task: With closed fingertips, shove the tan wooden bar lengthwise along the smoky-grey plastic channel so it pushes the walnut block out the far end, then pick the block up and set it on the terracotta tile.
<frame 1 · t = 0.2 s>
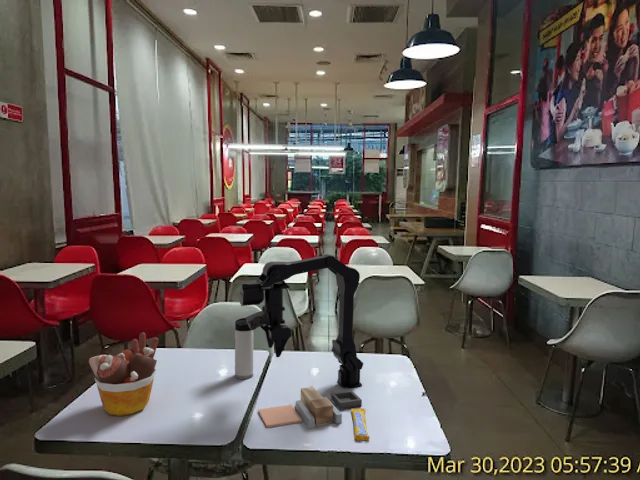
hand: (274, 352, 143), 14 cm above the table, fingers open, 9 cm apart
tile: (279, 416, 130), on the table
candy bar: (360, 427, 125), on the table
block: (321, 420, 128), on the table
tan wooden bar: (311, 408, 136), on the table
travel mug: (244, 376, 159), on the table
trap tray: (346, 402, 139), on the table
channel: (318, 415, 130), on the table
bucket of meat: (127, 407, 134), on the table
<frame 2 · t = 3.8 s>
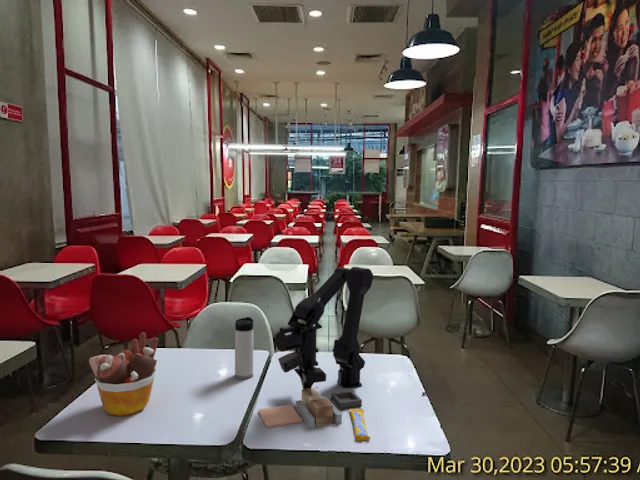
hand: (306, 394, 140), 2 cm above the table, fingers closed
tan wooden bar: (312, 409, 135), on the table, touching gripper
everything else where it was.
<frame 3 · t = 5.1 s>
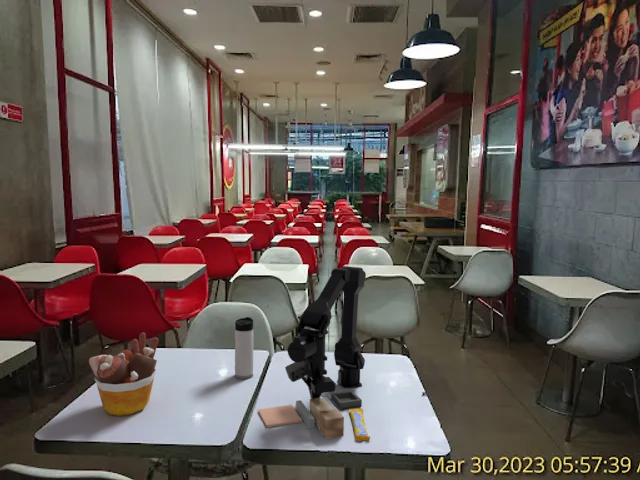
hand: (314, 404, 133), 2 cm above the table, fingers closed
block: (331, 432, 121), on the table, touching tan wooden bar
tan wooden bar: (321, 420, 128), on the table, touching block, gripper
everything else where it was.
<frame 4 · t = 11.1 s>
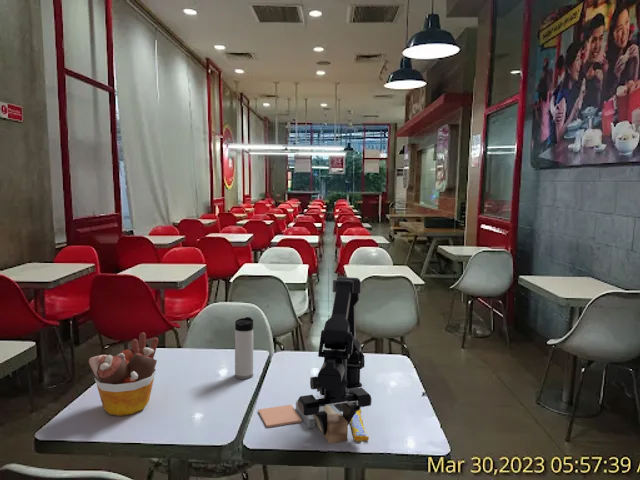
hand: (334, 432, 119), 1 cm above the table, fingers closed on block, 5 cm apart
block: (334, 437, 119), on the table, touching gripper
tan wooden bar: (324, 425, 125), on the table
everything else where it was.
when the fingers open (2 cm above the table, at t = 15.3 s): block stays where it is, resting on tile.
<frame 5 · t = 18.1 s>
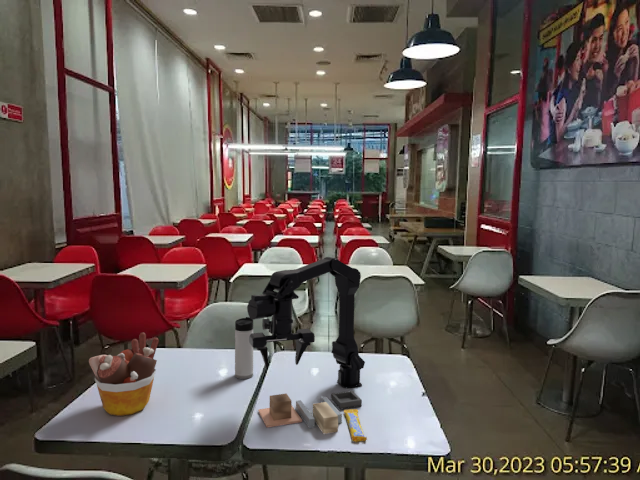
hand: (281, 366, 136), 12 cm above the table, fingers open, 9 cm apart
block: (280, 415, 129), point 1 cm above the table, touching tile
at the end: block inside the target area on the tile (0.5 cm from its centre), point 0.6 cm above the tile's base; block tilted 0°; the gripper is holding nothing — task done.
